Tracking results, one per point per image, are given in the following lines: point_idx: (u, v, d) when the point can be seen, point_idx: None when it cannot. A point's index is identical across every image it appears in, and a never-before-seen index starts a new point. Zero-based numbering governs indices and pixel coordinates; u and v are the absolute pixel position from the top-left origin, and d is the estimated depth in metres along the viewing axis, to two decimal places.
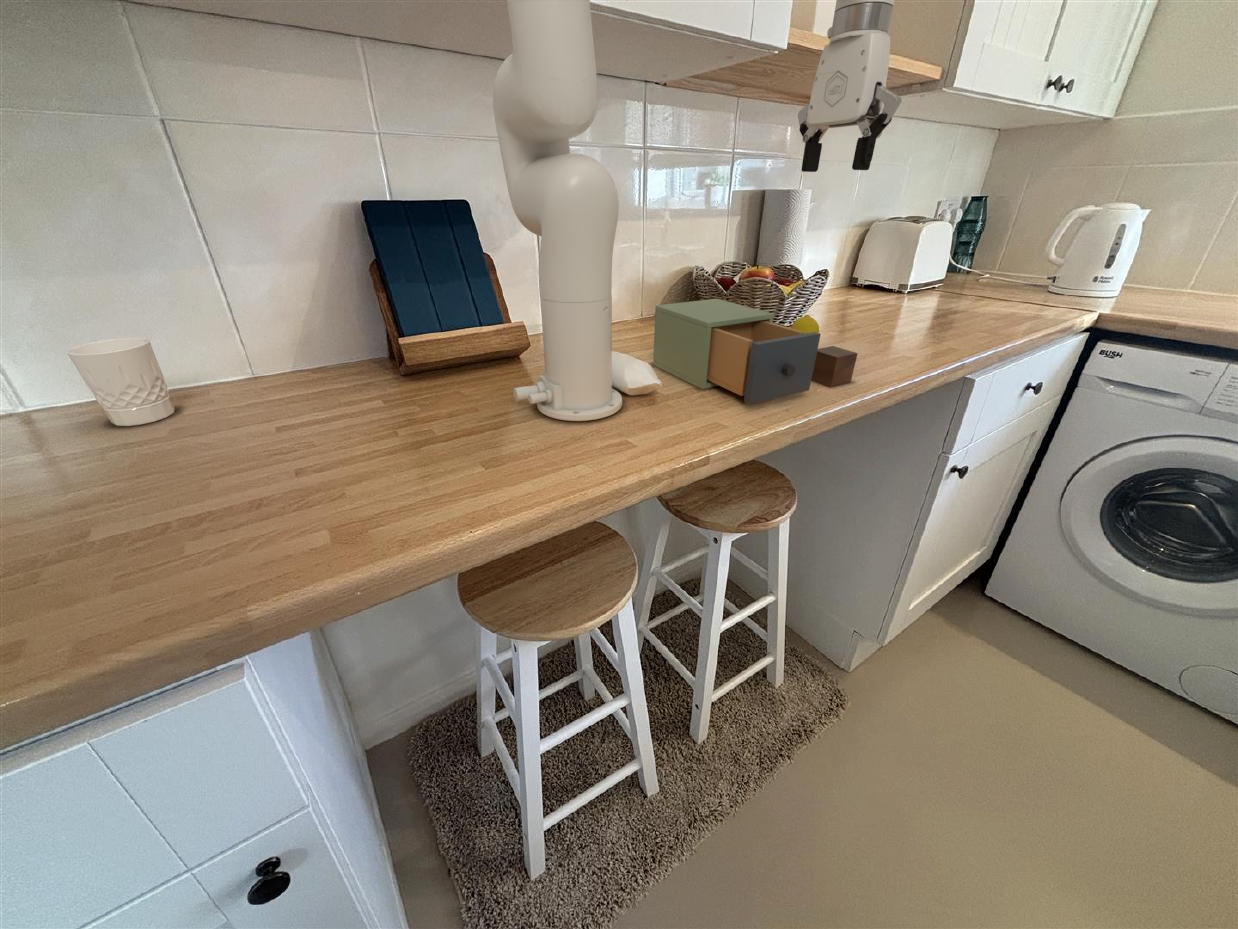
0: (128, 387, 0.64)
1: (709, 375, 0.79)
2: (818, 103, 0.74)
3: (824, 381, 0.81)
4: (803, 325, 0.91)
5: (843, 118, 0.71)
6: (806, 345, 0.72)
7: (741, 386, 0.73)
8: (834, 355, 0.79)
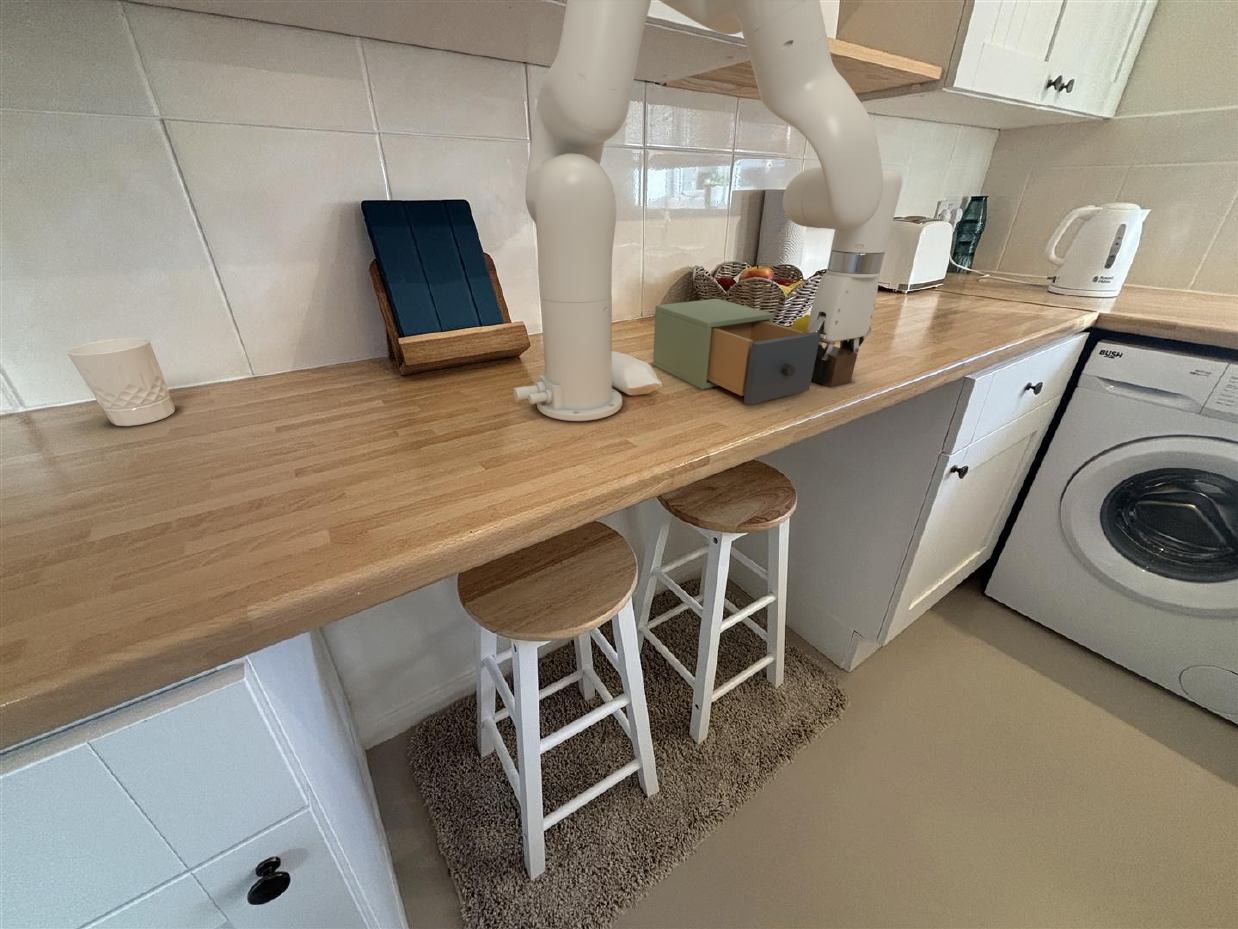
0: (128, 387, 0.64)
1: (709, 375, 0.79)
2: None
3: None
4: (803, 325, 0.91)
5: None
6: (806, 345, 0.72)
7: (741, 386, 0.73)
8: (834, 355, 0.79)
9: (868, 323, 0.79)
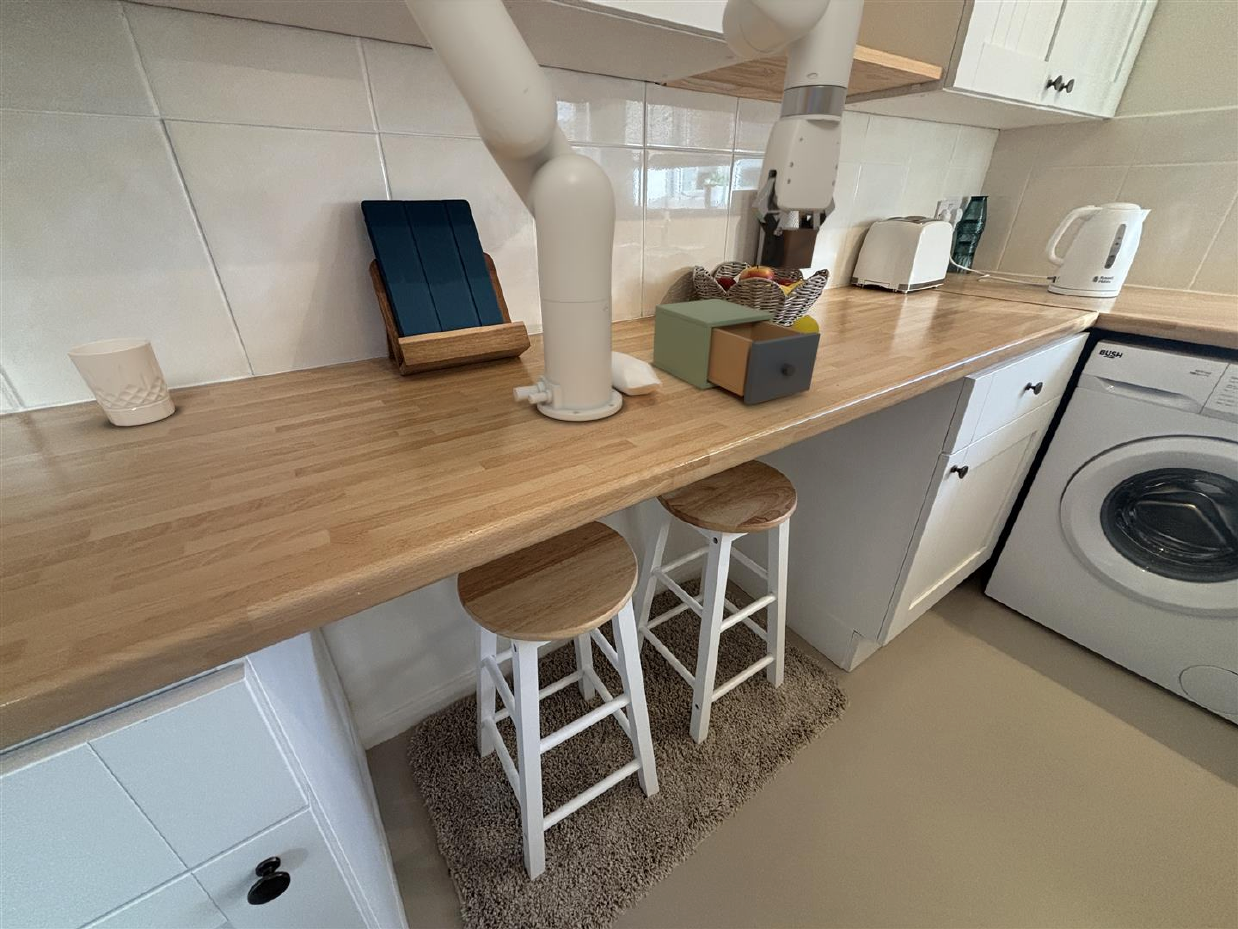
0: (128, 387, 0.64)
1: (709, 375, 0.79)
2: None
3: None
4: (803, 325, 0.91)
5: None
6: (806, 345, 0.72)
7: (741, 386, 0.73)
8: (789, 229, 0.66)
9: (830, 191, 0.66)
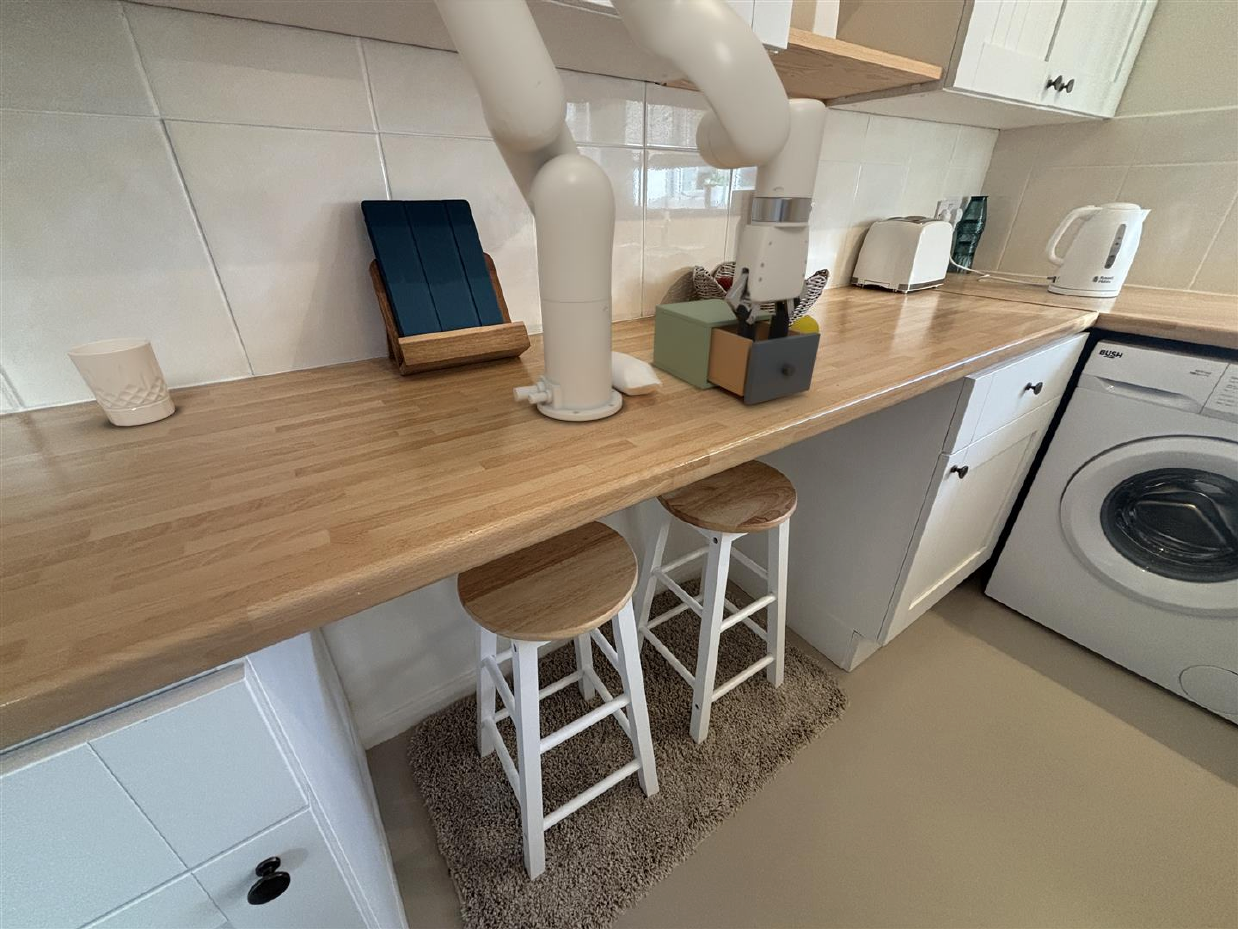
0: (128, 387, 0.64)
1: (709, 375, 0.79)
2: None
3: None
4: (803, 325, 0.91)
5: None
6: (806, 345, 0.72)
7: (741, 386, 0.73)
8: None
9: (800, 282, 0.71)
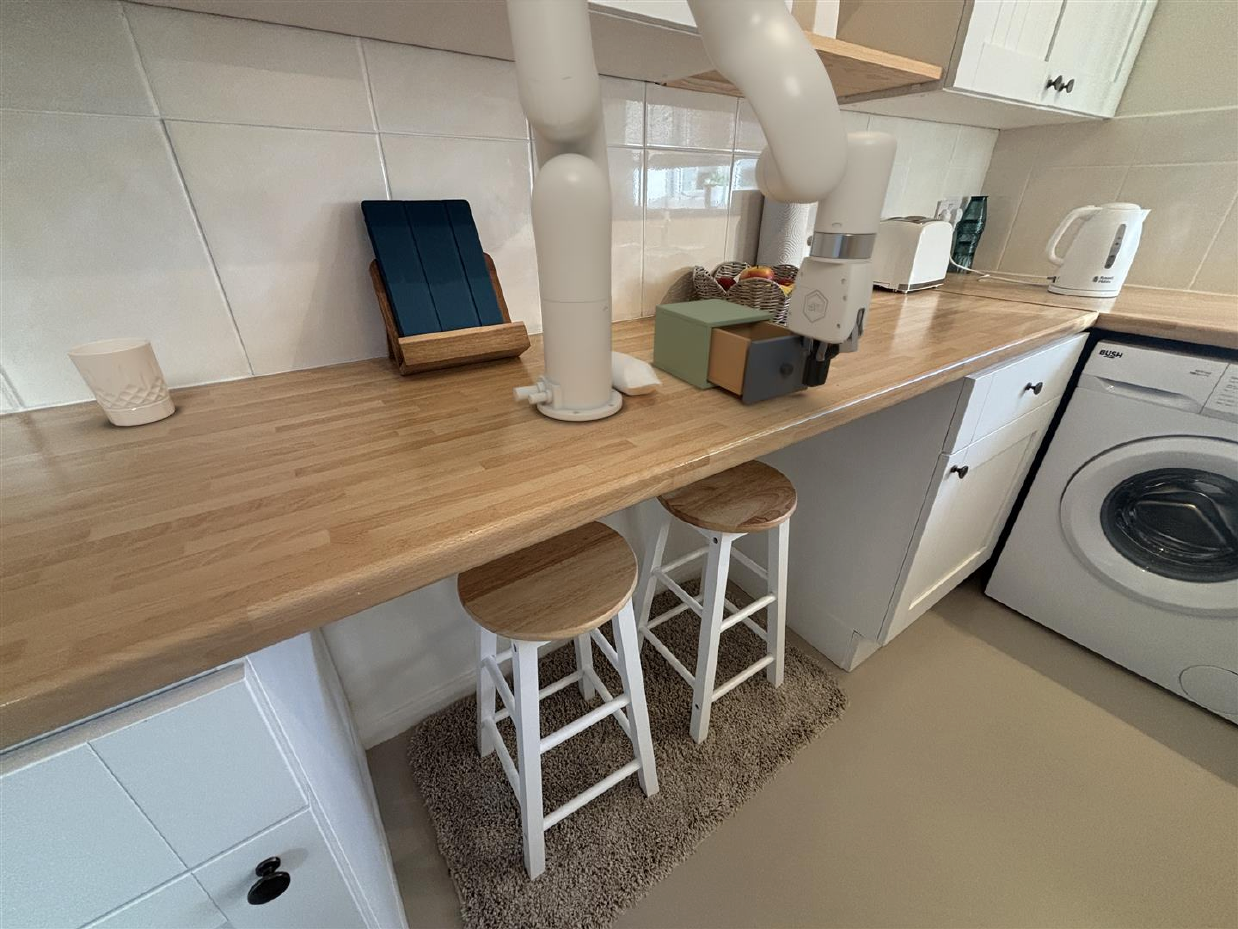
0: (128, 387, 0.64)
1: (708, 374, 0.79)
2: (797, 313, 0.68)
3: None
4: None
5: (823, 338, 0.65)
6: None
7: (740, 385, 0.73)
8: None
9: None
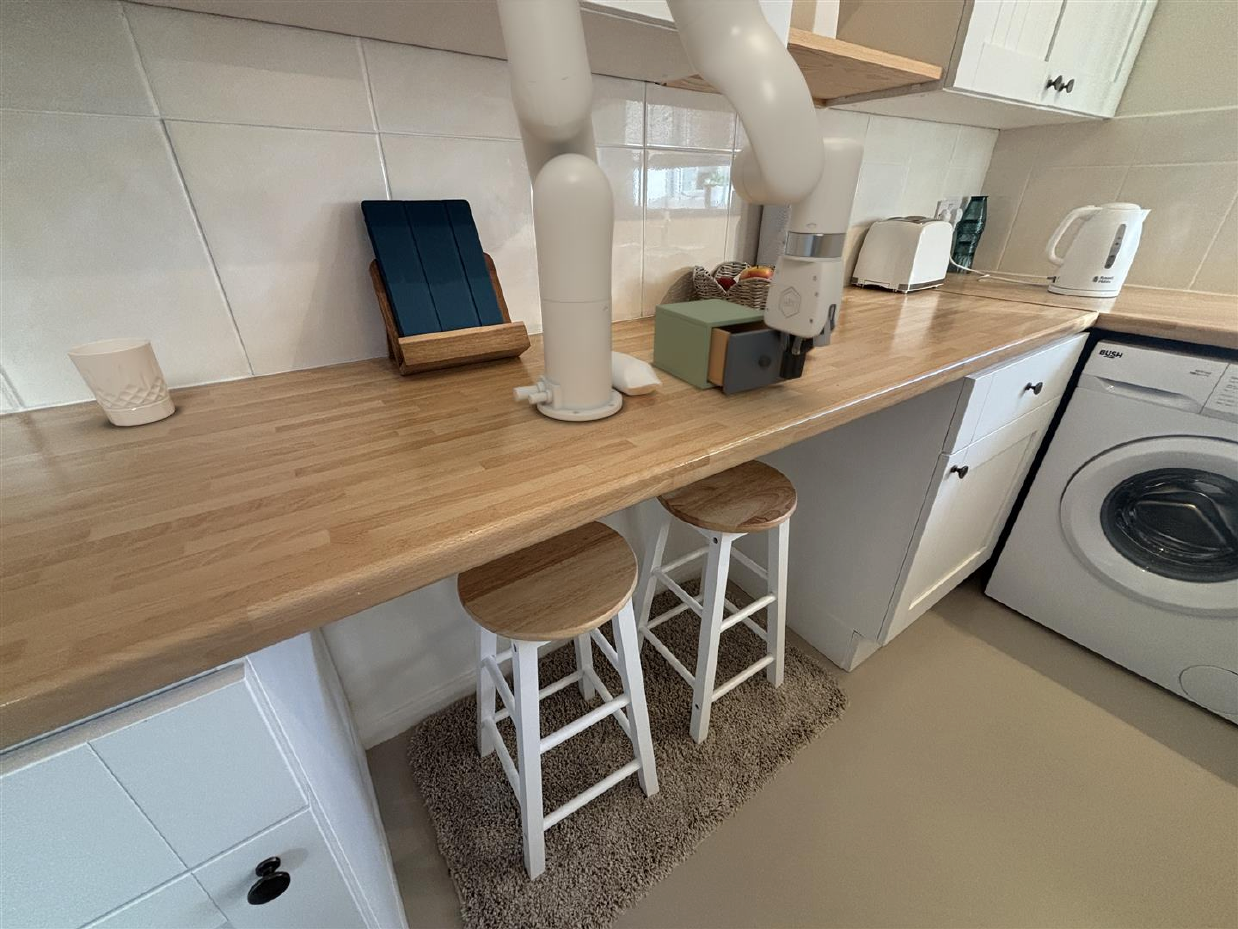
0: (128, 387, 0.64)
1: None
2: (774, 309, 0.72)
3: None
4: None
5: (797, 333, 0.69)
6: None
7: (721, 377, 0.76)
8: None
9: None
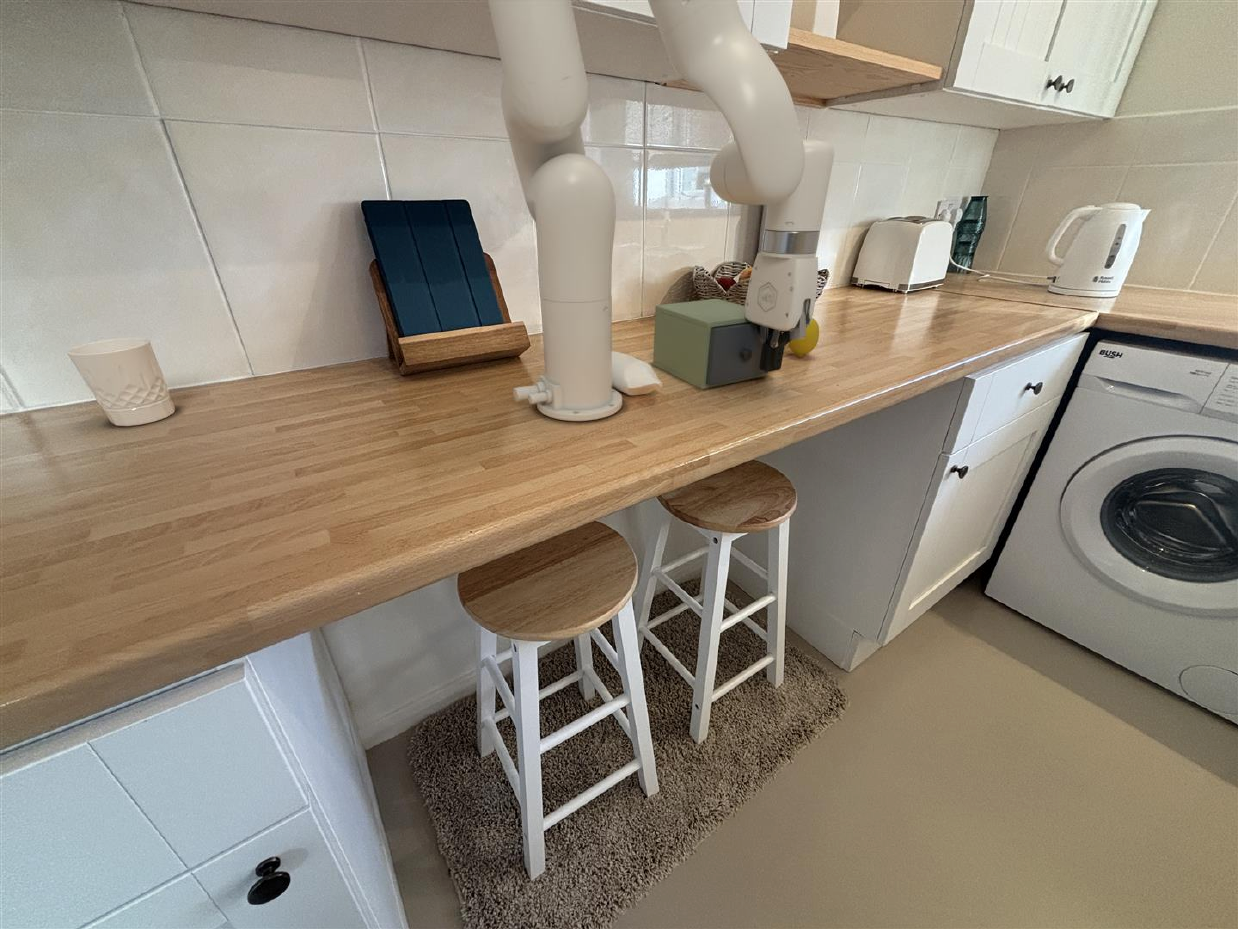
0: (128, 387, 0.64)
1: None
2: (753, 303, 0.75)
3: None
4: None
5: (774, 326, 0.72)
6: None
7: None
8: None
9: None
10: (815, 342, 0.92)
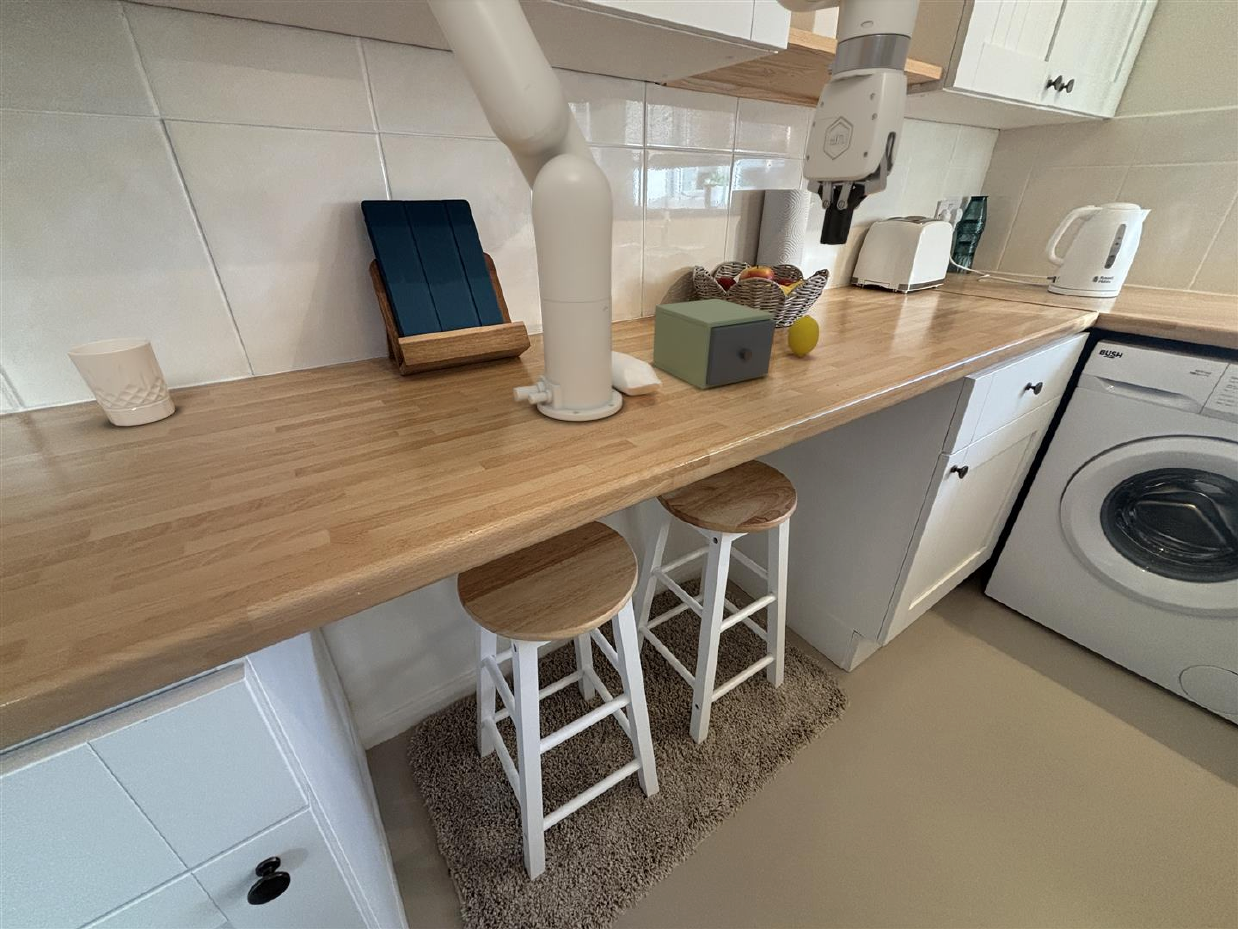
0: (128, 387, 0.64)
1: None
2: (816, 154, 0.60)
3: None
4: (803, 325, 0.91)
5: (847, 175, 0.57)
6: (762, 331, 0.79)
7: None
8: None
9: None
10: (815, 342, 0.92)
